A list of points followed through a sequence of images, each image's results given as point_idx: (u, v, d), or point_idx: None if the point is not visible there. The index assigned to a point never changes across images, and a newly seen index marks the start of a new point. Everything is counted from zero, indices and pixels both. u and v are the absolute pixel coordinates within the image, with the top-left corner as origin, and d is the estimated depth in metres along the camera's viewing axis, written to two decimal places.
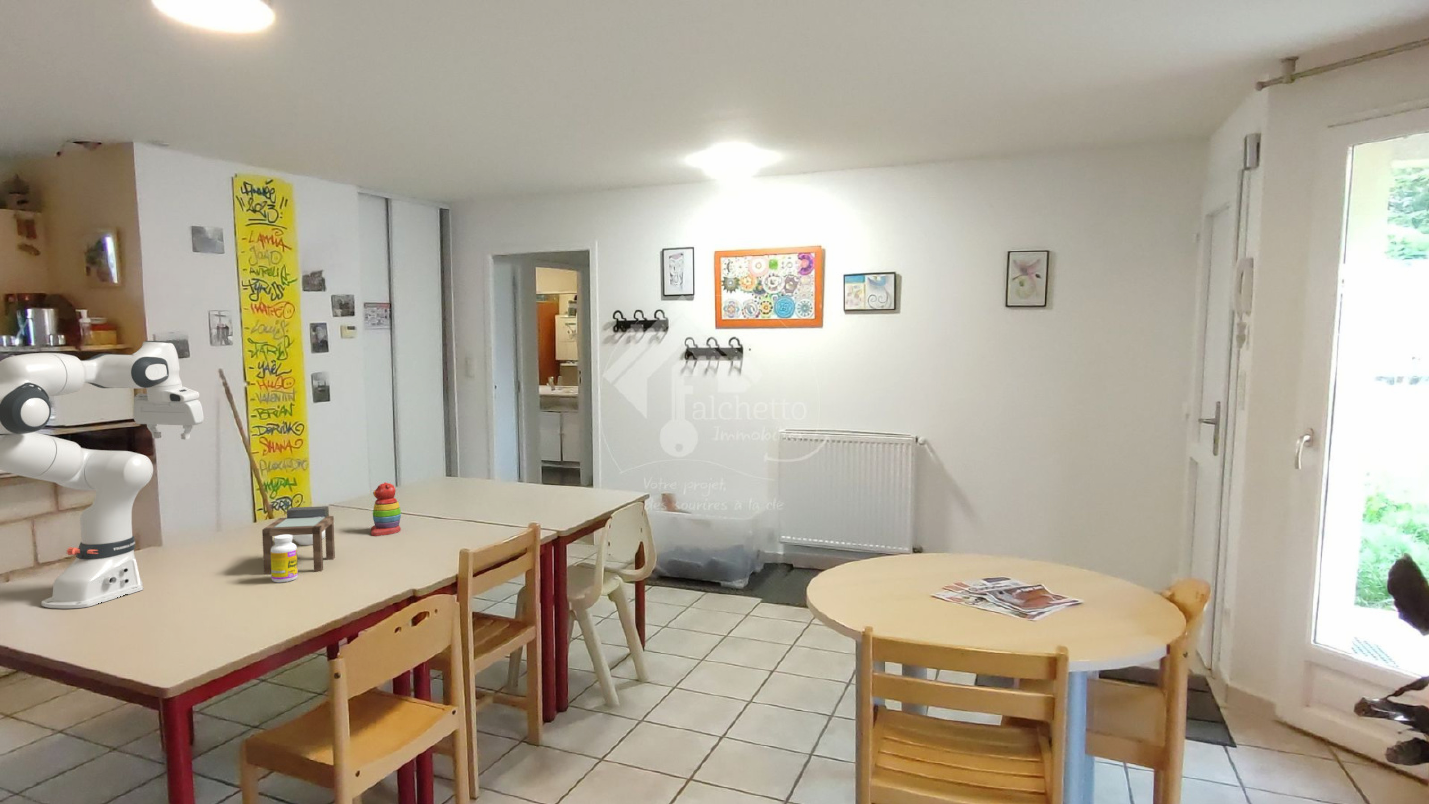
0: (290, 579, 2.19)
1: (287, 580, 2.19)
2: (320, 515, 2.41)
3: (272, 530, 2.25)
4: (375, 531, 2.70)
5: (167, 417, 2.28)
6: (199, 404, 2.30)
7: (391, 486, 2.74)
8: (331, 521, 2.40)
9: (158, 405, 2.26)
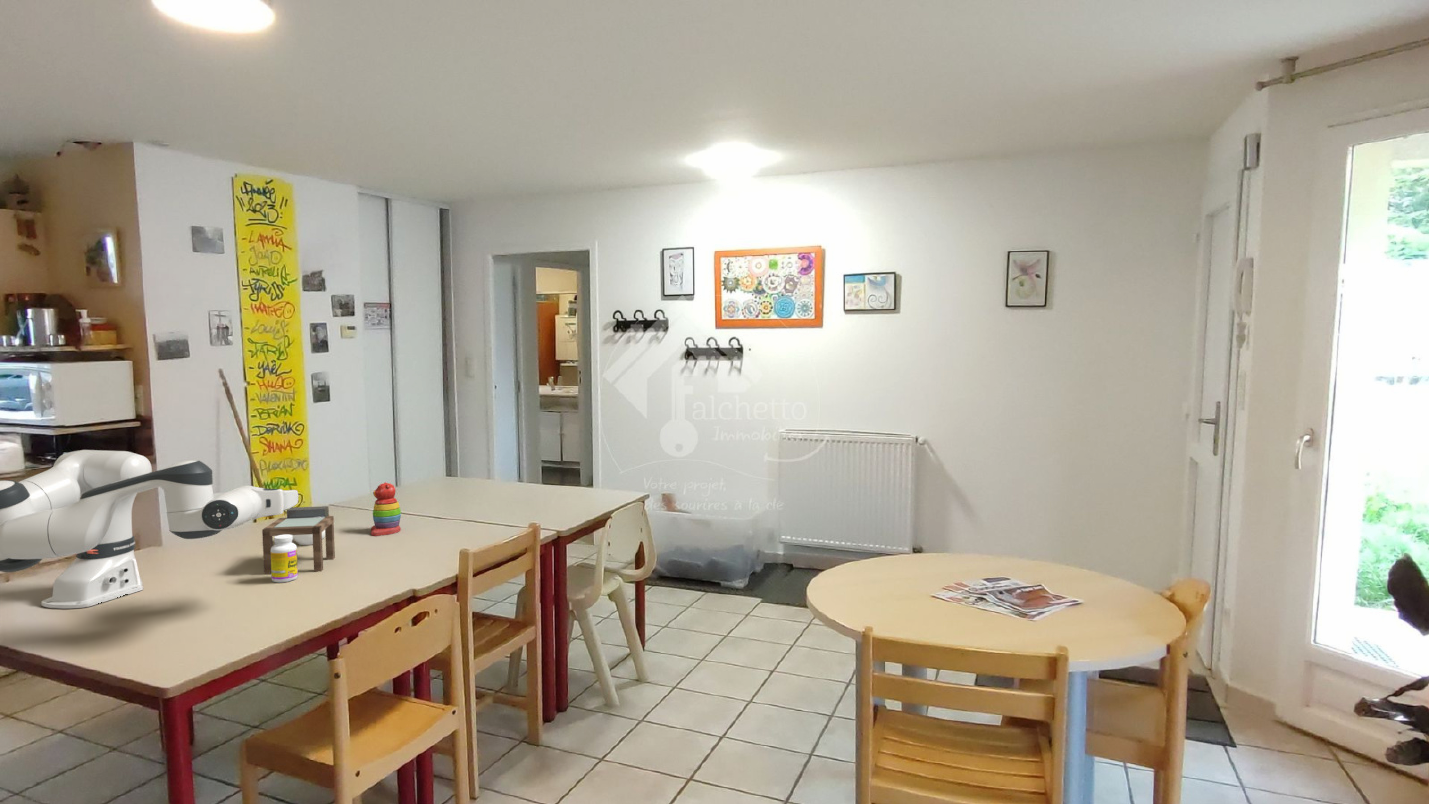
0: (290, 579, 2.19)
1: (287, 580, 2.19)
2: (320, 515, 2.41)
3: (272, 530, 2.25)
4: (375, 531, 2.70)
5: None
6: (289, 495, 1.99)
7: (391, 486, 2.74)
8: (331, 521, 2.40)
9: None
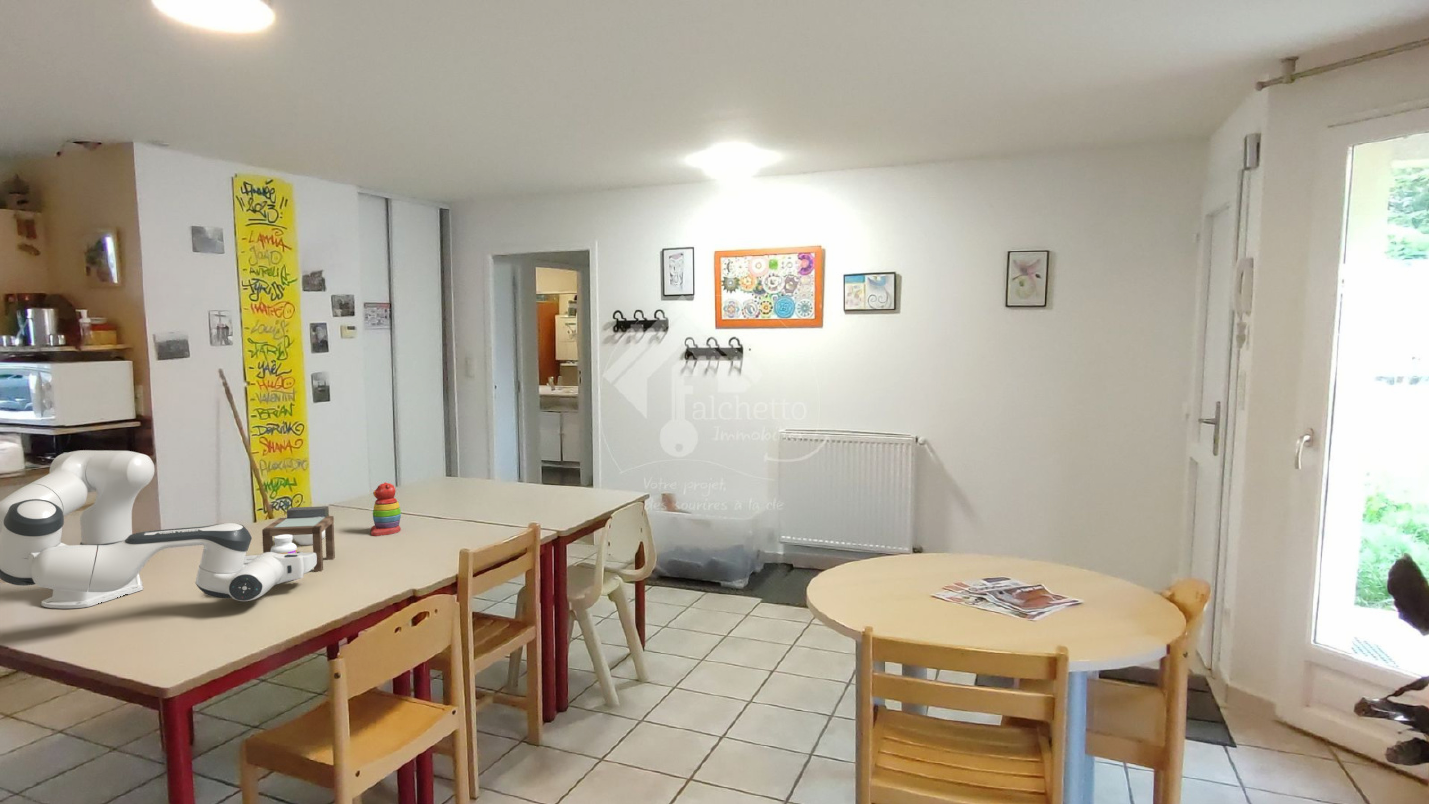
0: None
1: None
2: (320, 515, 2.41)
3: (272, 530, 2.25)
4: (375, 531, 2.70)
5: None
6: (308, 559, 2.13)
7: (391, 486, 2.74)
8: (331, 521, 2.40)
9: None
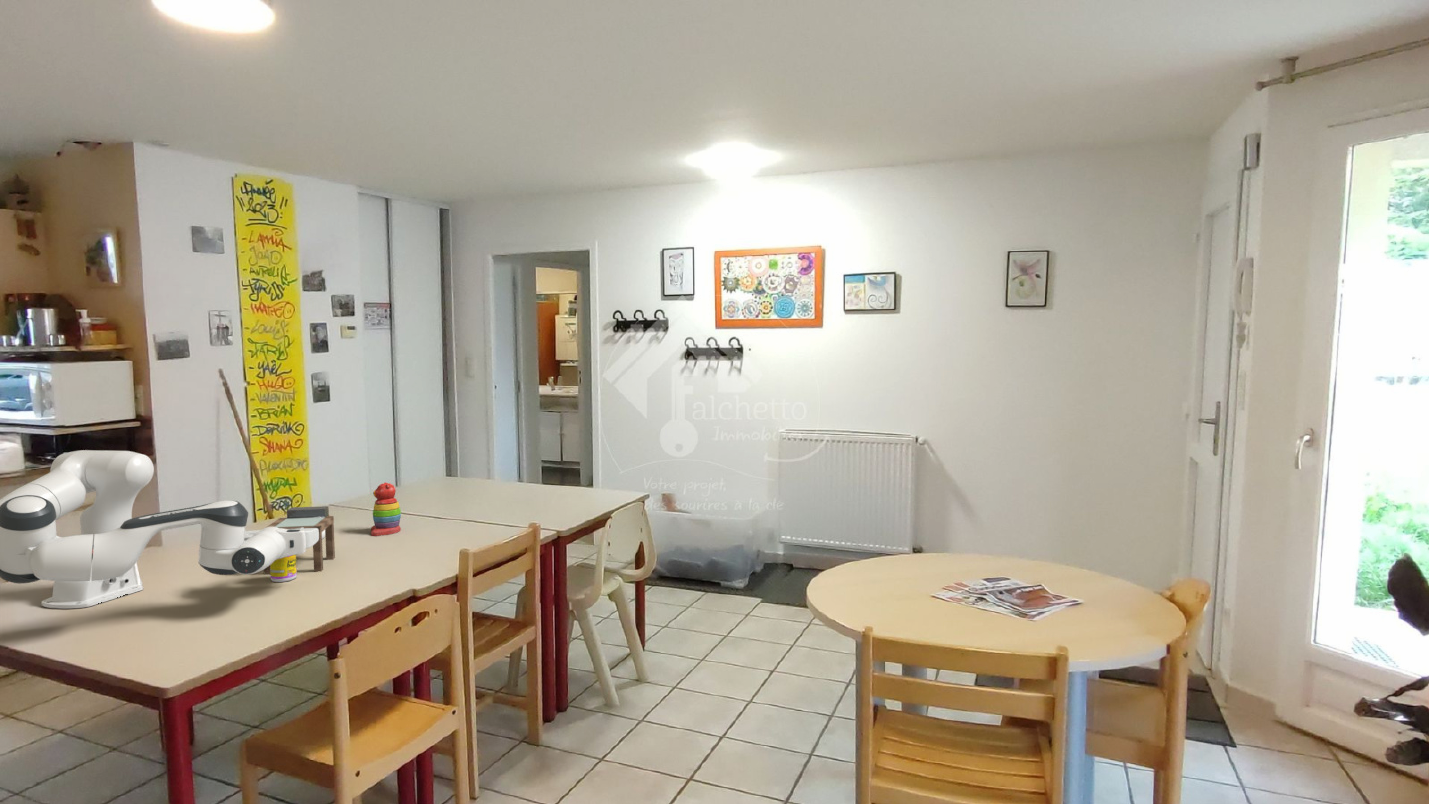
0: (289, 579, 2.20)
1: (286, 580, 2.19)
2: (320, 515, 2.41)
3: None
4: (375, 531, 2.70)
5: None
6: (310, 534, 2.13)
7: (391, 486, 2.74)
8: (331, 521, 2.40)
9: None
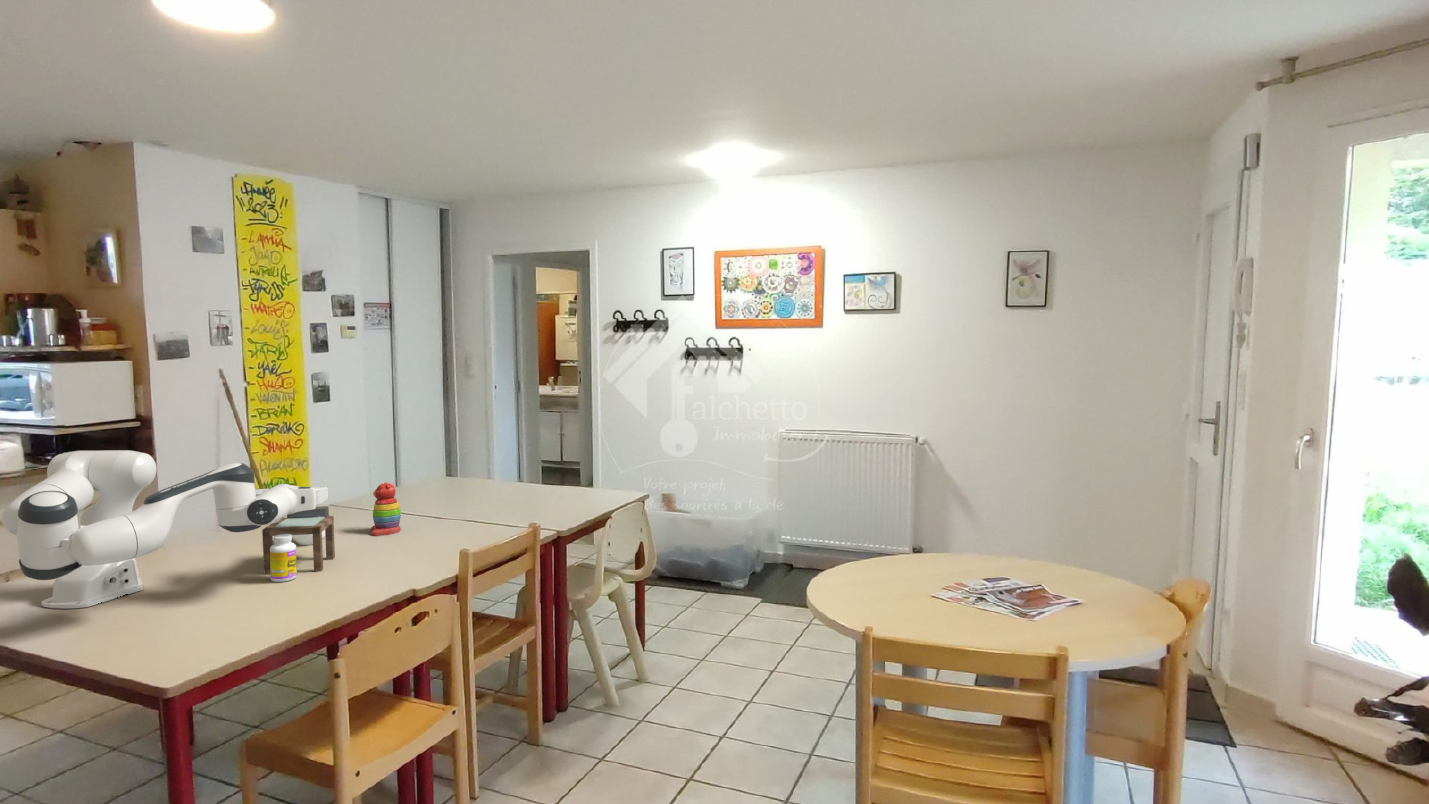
0: (289, 579, 2.20)
1: (286, 580, 2.19)
2: (320, 515, 2.41)
3: (272, 530, 2.25)
4: (375, 531, 2.70)
5: None
6: (320, 492, 2.24)
7: (391, 486, 2.74)
8: (331, 521, 2.40)
9: None
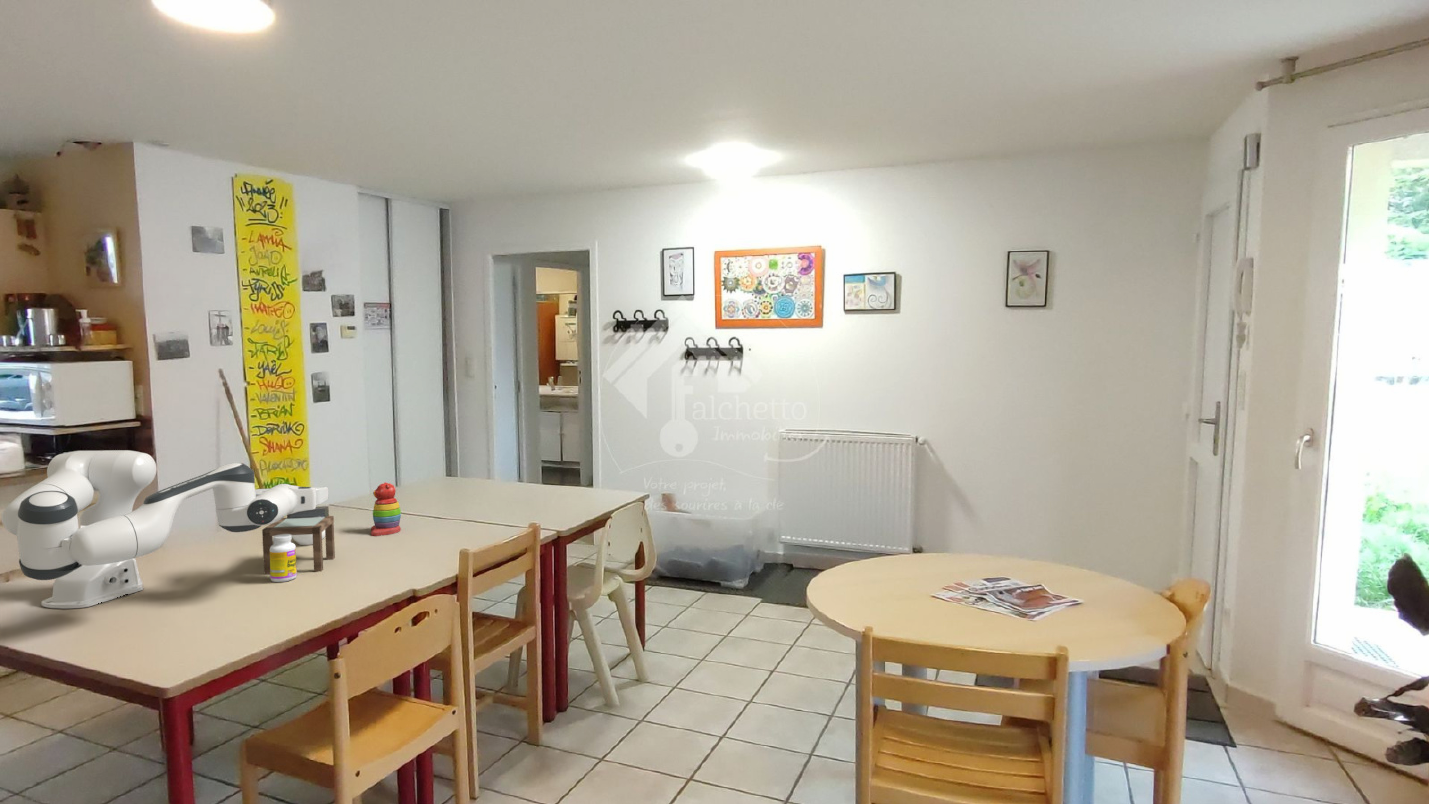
0: (289, 578, 2.20)
1: (286, 579, 2.19)
2: (320, 515, 2.41)
3: (272, 530, 2.25)
4: (375, 531, 2.70)
5: None
6: (320, 492, 2.24)
7: (391, 486, 2.74)
8: (331, 521, 2.40)
9: None
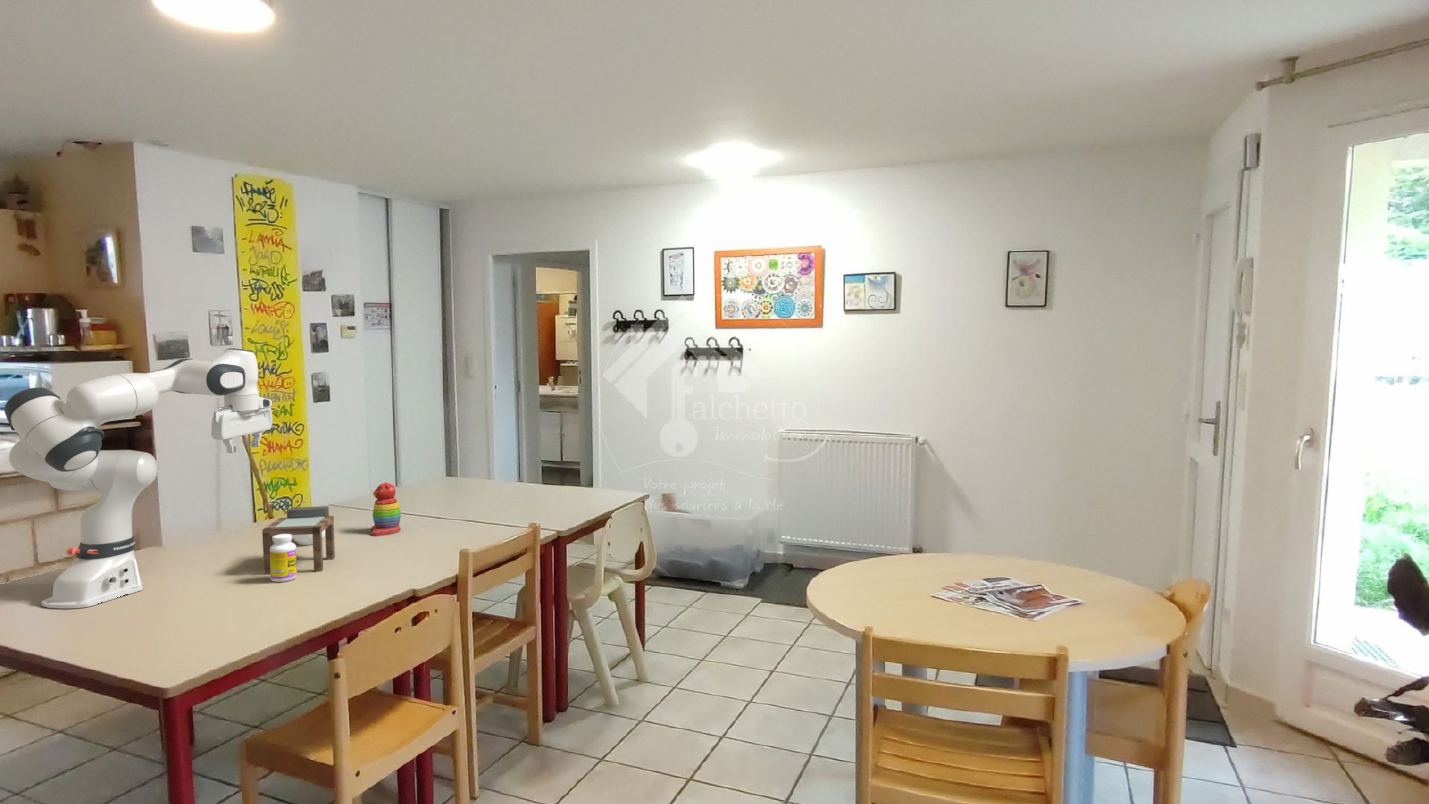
0: (290, 578, 2.20)
1: (287, 579, 2.19)
2: (320, 515, 2.41)
3: (272, 530, 2.25)
4: (375, 531, 2.70)
5: (251, 426, 2.25)
6: None
7: (391, 486, 2.74)
8: (331, 521, 2.40)
9: (252, 413, 2.23)
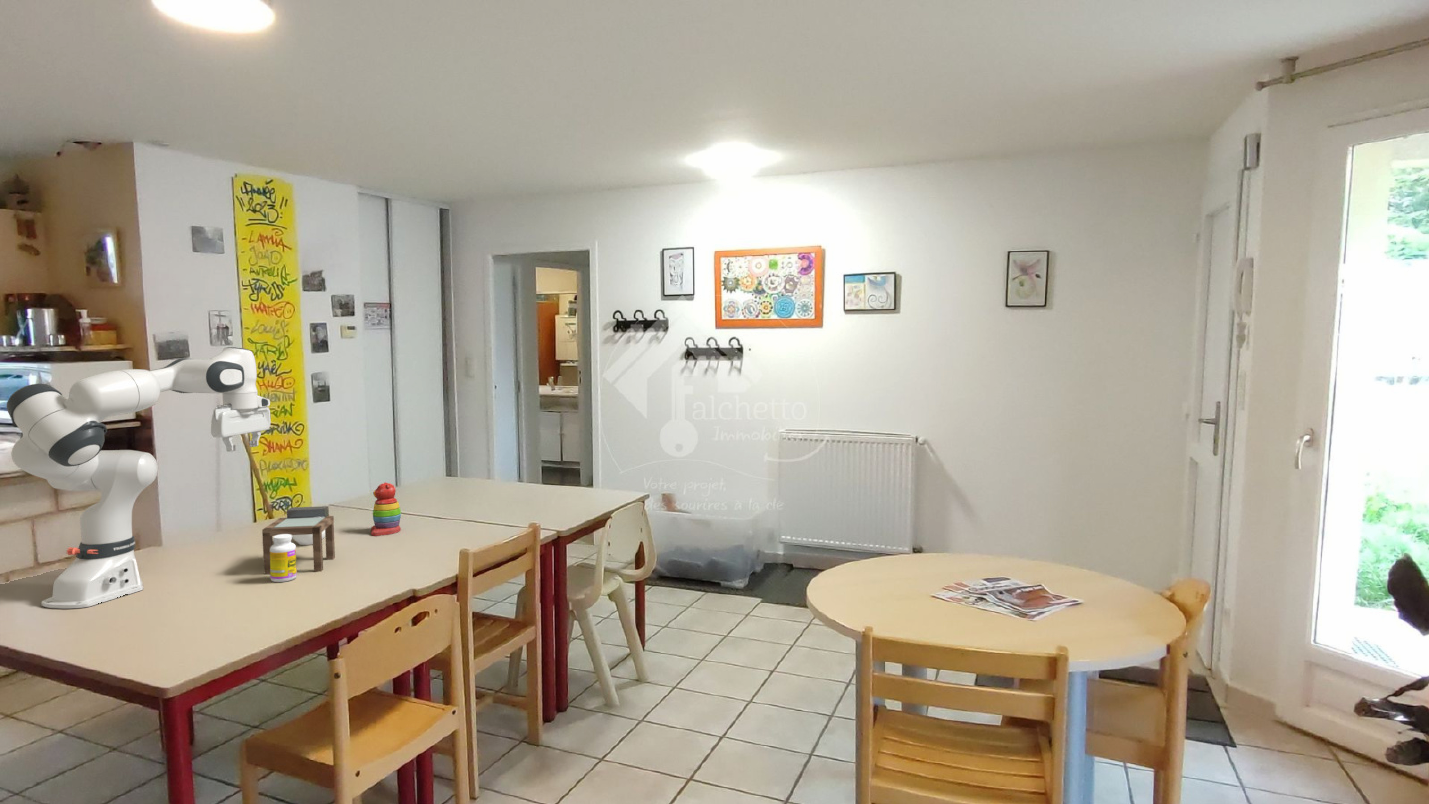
0: (290, 578, 2.20)
1: (287, 579, 2.19)
2: (320, 515, 2.41)
3: (272, 530, 2.25)
4: (375, 531, 2.70)
5: (250, 425, 2.26)
6: None
7: (391, 486, 2.74)
8: (331, 521, 2.40)
9: (250, 412, 2.24)
